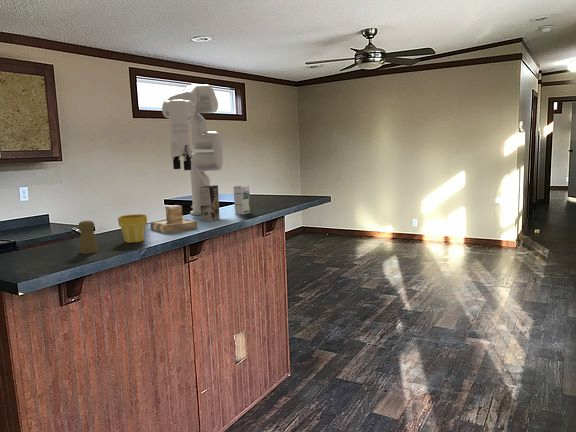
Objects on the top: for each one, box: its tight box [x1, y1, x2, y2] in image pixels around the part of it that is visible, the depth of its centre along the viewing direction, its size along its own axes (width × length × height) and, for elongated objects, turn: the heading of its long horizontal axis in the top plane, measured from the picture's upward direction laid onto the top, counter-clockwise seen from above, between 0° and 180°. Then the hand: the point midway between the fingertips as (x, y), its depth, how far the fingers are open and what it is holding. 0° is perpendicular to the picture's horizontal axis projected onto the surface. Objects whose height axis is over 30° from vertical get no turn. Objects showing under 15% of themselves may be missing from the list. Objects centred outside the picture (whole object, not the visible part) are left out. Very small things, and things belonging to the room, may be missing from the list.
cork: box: [77, 220, 99, 255], centre depth 166 cm, size 6×6×11 cm
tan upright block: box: [165, 204, 183, 224], centre depth 205 cm, size 5×5×7 cm
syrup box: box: [233, 184, 251, 215], centre depth 244 cm, size 6×6×14 cm
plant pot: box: [117, 213, 148, 244], centre depth 183 cm, size 10×10×10 cm
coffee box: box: [199, 185, 221, 222], centre depth 228 cm, size 9×6×16 cm
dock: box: [150, 217, 199, 234], centre depth 207 cm, size 16×14×3 cm
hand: (182, 169), depth 207 cm, fingers open, 9 cm apart
